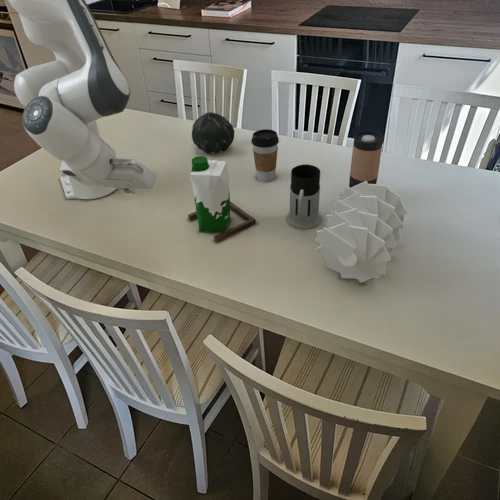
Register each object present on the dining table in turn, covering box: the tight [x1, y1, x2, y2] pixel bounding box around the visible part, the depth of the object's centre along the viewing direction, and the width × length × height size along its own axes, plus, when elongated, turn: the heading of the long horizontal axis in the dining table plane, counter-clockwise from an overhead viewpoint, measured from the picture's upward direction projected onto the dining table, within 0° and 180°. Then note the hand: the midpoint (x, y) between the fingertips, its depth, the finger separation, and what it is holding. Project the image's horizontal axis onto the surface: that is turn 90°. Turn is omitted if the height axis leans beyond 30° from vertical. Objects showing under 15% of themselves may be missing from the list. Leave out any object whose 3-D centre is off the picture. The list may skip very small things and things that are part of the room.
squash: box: [191, 111, 235, 155], centre depth 157 cm, size 14×15×15 cm
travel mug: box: [348, 130, 384, 188], centre depth 125 cm, size 8×8×20 cm
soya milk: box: [189, 155, 232, 234], centre depth 118 cm, size 9×9×20 cm
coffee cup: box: [250, 128, 280, 183], centre depth 139 cm, size 8×8×15 cm
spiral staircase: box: [314, 181, 409, 284], centre depth 106 cm, size 18×18×25 cm
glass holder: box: [287, 164, 321, 229], centre depth 118 cm, size 9×14×15 cm, turn 167°
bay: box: [187, 201, 257, 243], centre depth 125 cm, size 14×13×2 cm
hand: (132, 190), depth 106 cm, fingers closed
